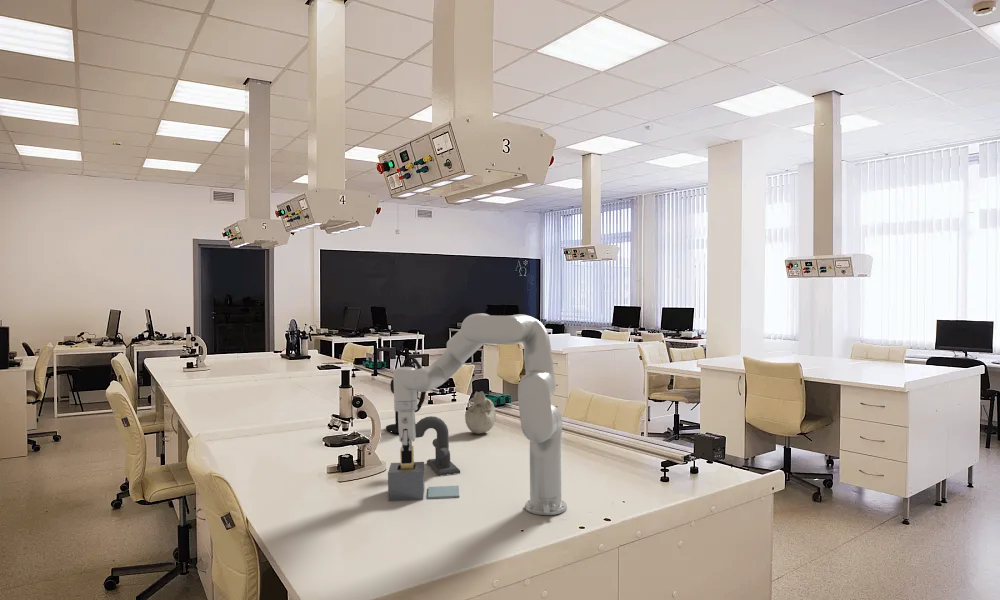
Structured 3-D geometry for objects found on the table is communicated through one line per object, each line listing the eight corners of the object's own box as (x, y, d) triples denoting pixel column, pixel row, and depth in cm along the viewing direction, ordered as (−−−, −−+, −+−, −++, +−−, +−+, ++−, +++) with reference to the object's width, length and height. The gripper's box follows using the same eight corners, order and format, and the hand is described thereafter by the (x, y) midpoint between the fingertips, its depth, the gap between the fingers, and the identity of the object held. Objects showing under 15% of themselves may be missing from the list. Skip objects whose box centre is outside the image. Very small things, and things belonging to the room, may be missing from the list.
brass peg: (413, 485, 194) (412, 449, 194) (401, 486, 194) (400, 449, 193) (414, 482, 198) (413, 445, 198) (402, 482, 198) (401, 446, 197)
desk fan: (435, 433, 281) (434, 358, 281) (400, 438, 272) (399, 361, 271) (412, 422, 304) (411, 354, 304) (379, 427, 295) (378, 356, 294)
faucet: (407, 465, 229) (406, 413, 229) (447, 460, 235) (446, 410, 235) (418, 479, 212) (417, 422, 212) (460, 473, 218) (459, 419, 218)
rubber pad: (459, 497, 192) (459, 495, 192) (428, 498, 192) (427, 496, 192) (458, 487, 202) (458, 485, 202) (428, 488, 202) (428, 486, 202)
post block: (423, 499, 191) (422, 471, 191) (388, 501, 190) (387, 472, 190) (424, 488, 202) (424, 461, 202) (391, 489, 201) (391, 462, 201)
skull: (462, 436, 275) (462, 392, 275) (473, 428, 289) (472, 387, 289) (488, 437, 271) (488, 393, 271) (498, 430, 285) (498, 388, 285)
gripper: (416, 409, 188) (417, 467, 188) (418, 400, 204) (419, 453, 204) (391, 410, 187) (393, 469, 187) (396, 401, 204) (397, 454, 204)
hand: (407, 460), depth 196 cm, fingers closed on brass peg, 4 cm apart
